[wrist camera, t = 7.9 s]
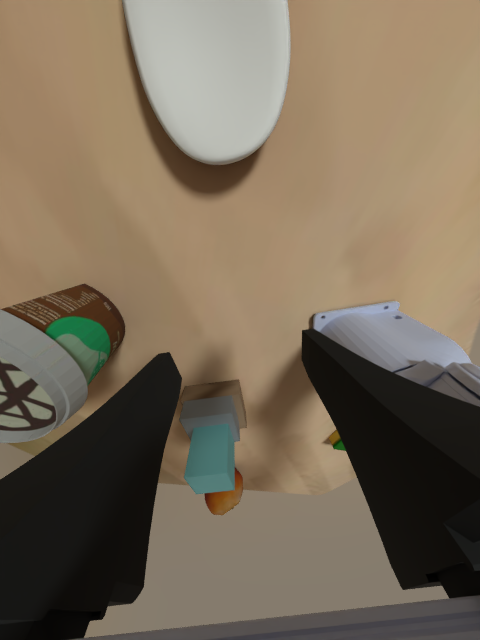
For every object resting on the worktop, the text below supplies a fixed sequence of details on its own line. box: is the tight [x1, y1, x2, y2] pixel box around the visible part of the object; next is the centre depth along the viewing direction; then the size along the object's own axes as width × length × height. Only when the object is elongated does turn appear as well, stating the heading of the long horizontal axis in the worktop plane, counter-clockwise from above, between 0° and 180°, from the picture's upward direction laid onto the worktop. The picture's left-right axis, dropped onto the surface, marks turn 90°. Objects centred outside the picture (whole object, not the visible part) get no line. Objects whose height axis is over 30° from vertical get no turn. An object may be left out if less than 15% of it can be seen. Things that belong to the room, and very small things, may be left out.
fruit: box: [205, 468, 243, 515], centre depth 37 cm, size 8×8×8 cm
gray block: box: [179, 395, 240, 442], centre depth 24 cm, size 6×6×2 cm
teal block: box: [184, 424, 235, 494], centre depth 21 cm, size 4×4×5 cm
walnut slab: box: [181, 380, 247, 429], centre depth 27 cm, size 8×8×3 cm
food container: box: [0, 284, 125, 443], centre depth 16 cm, size 12×6×10 cm, turn 149°
